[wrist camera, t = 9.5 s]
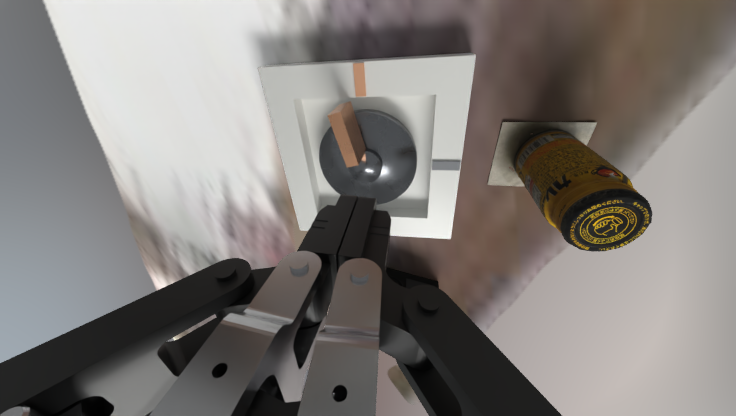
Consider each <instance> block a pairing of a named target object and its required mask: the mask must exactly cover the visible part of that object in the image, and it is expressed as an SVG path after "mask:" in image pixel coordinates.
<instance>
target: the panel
mask: <svg viewBox="0 0 736 416" xmlns="http://www.w3.org/2000/svg"><path fill="white" fill-rule="evenodd" d="M475 59H476V55H475V54H473V53H458V54H441V55H424V56H408V57H391V58H374V59H358V60H341V61H324V62H308V63H291V64H274V65H267V66H263V67H259V68H258V71H259V75H260V79H261V83H262V87H263V91H264V94H265V98H266V102H267V106H268V110H269V113H270V117H271V121H272V125H273V129H274V132H275V136H276V140H277V144H278V148H279V152H280V155H281V159H282V163H283V167H284V171H285V174H286V178H287V182H288V186H289V190H290V193H291V197H292V201H293V205H294V209H295V213H296V216H297V220H298V224H299V228H300V230H303V231H308V230H309V229H310V228H311V225H312V223H313V221H314V220H315V218H316V216H317V214H318V212H319V211H320V210H321V209H323V208H324V207H325V206H327V205H334V206H335V205H336V203H337V201H338V199H339V197H340V194H339V193H337V192H336V191H335V190H334V189H333V188H332V187H331V186H330V184H329V183H328V182H327V180H326V179H325V177H324V175H323V173H322V170H321V167H320V162H319V149H320V144H321V141H322V138H323V137H324V135H325V133H326V132H327V130H328V129H329V128H330V127H331V124H330V121H329V119H328V116H327V115H329V114H330V113H331V112H332V111H333V110H334V109H335V108H336V107H337V106H338V105H339V104H342V103H346V102H349V101H351V104H352V107H353V110H354V111H355V110H360V109H374V110H379V111H382V112H385V113H388V114H390V115H392V116H393V117H395V118H396V119H398V120H399V121H400V122H401V123H402V124H404V126H405V127H406V128H407V129H408V131H409V132H410V134H411V135H412V137H413V140H414V142H415V145H416V150H417V168H416V173H415V176H414V179H413V181H412V183H411V185H410V186H409V188H408V189H407V190H406V191H405V192H404V193H403V194H402V195H401V196H399V197H398V198H396V199H394V200H392V201H390V202H387V203H384V204H378V205H377V208H376V210H382V211H388V213H389V215H390V217H391V230H390V236H406V237H424V238H441V239H451V233H452V225H453V218H454V211H455V204H456V196H457V189H458V182H459V175H460V167H461V160H462V153H463V146H464V138H465V131H466V124H467V117H468V109H469V102H470V95H471V88H472V80H473V73H474V66H475Z"/></svg>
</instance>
